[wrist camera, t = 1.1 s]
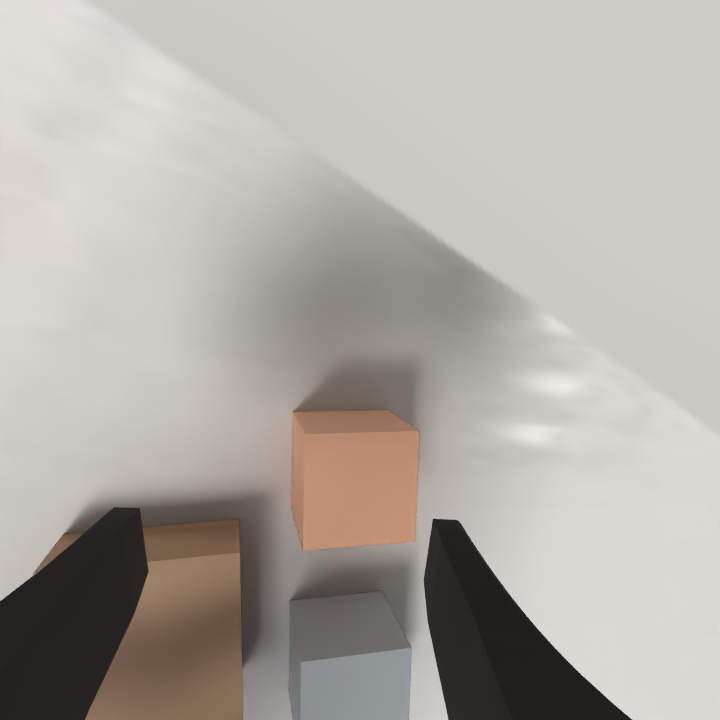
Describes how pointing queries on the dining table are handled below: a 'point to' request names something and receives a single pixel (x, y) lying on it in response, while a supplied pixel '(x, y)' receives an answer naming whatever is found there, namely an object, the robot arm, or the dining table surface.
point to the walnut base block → (179, 629)
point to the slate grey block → (348, 659)
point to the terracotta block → (353, 478)
